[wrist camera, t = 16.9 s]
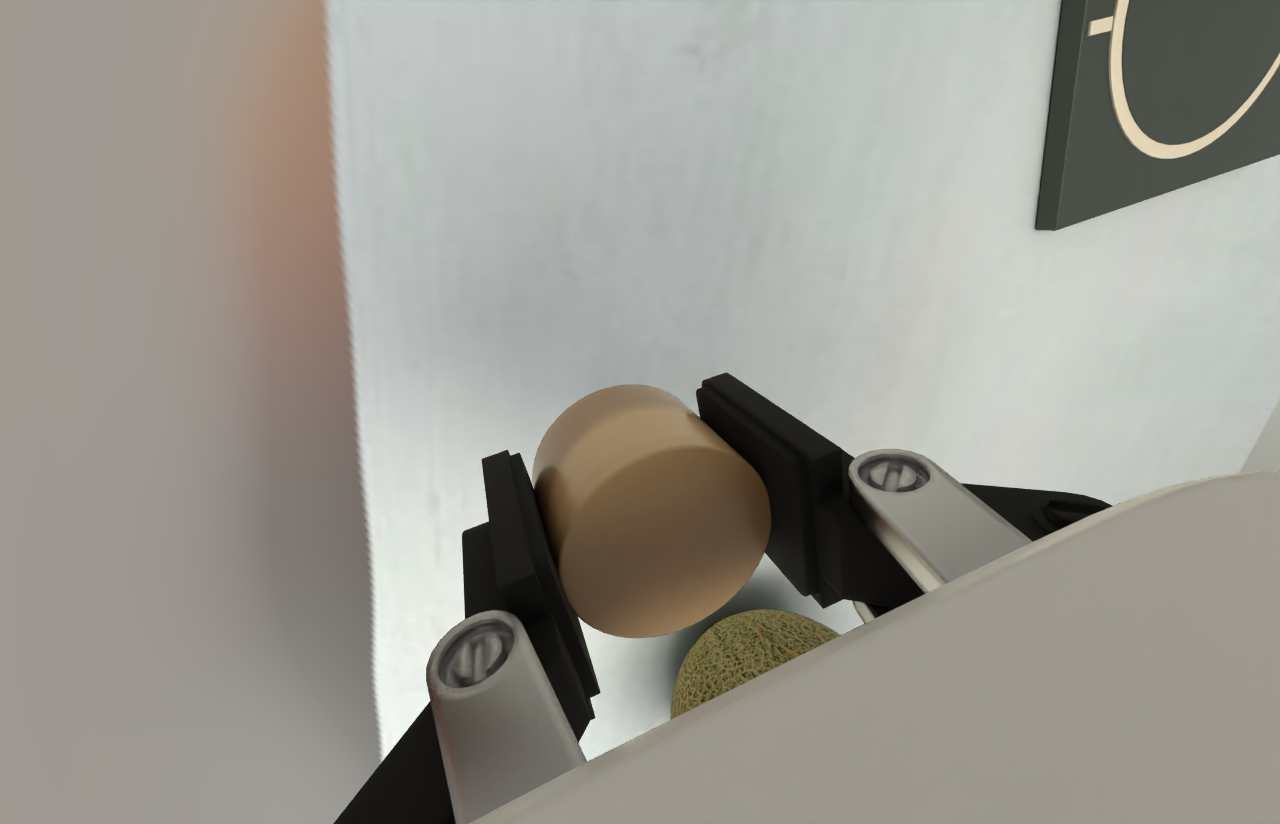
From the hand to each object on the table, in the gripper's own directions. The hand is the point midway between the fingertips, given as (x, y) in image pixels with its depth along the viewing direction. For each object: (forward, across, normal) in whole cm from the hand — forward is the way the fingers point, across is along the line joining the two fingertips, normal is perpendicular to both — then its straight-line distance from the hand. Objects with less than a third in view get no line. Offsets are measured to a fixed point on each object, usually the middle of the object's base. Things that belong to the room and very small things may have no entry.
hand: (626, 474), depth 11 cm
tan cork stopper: (0, 0, 0) cm, 0 cm away
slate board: (+10, -33, -6) cm, 35 cm away
